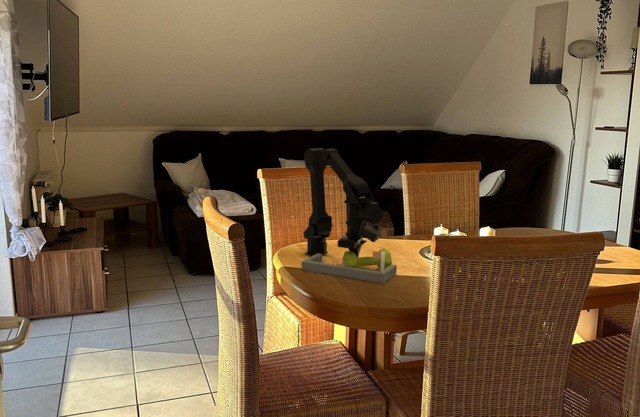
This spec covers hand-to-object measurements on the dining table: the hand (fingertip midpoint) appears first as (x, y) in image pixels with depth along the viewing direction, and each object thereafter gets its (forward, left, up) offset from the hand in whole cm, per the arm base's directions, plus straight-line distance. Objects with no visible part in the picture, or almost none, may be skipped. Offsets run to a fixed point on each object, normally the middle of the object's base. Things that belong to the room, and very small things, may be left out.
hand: (355, 261), depth 208 cm
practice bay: (0, -6, -2) cm, 7 cm away
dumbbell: (+5, -3, -2) cm, 7 cm away
